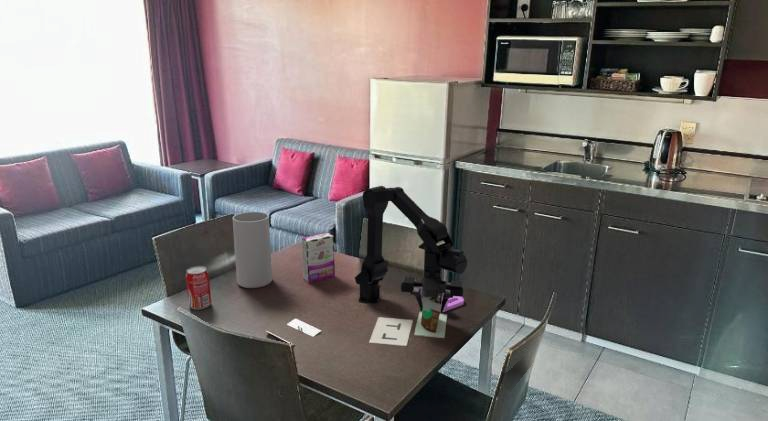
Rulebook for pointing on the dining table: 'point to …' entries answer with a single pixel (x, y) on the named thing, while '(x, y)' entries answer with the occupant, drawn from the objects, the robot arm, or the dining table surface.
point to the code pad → (391, 331)
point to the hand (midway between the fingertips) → (431, 311)
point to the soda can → (198, 287)
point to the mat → (423, 332)
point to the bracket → (453, 303)
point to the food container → (431, 312)
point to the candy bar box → (318, 257)
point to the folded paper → (301, 328)
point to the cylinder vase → (252, 249)
